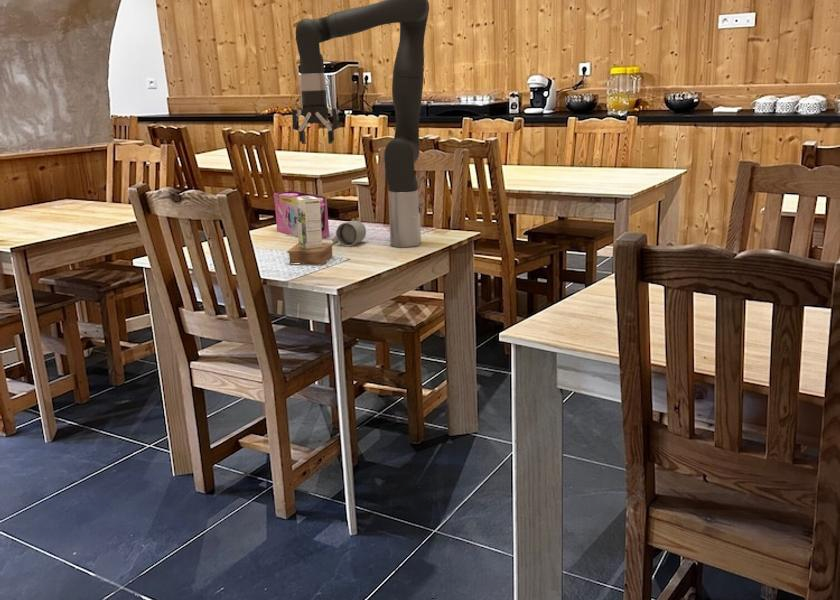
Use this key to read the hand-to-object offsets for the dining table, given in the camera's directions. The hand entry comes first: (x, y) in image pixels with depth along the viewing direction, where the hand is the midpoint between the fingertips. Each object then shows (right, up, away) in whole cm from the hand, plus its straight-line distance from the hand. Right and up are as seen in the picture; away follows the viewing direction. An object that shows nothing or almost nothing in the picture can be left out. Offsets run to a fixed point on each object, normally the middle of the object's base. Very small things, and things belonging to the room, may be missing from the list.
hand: (317, 143), depth 241 cm
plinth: (0, -36, -10) cm, 38 cm away
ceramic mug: (+9, -30, +10) cm, 33 cm away
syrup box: (0, -33, -11) cm, 35 cm away
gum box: (-9, -26, +28) cm, 39 cm away
